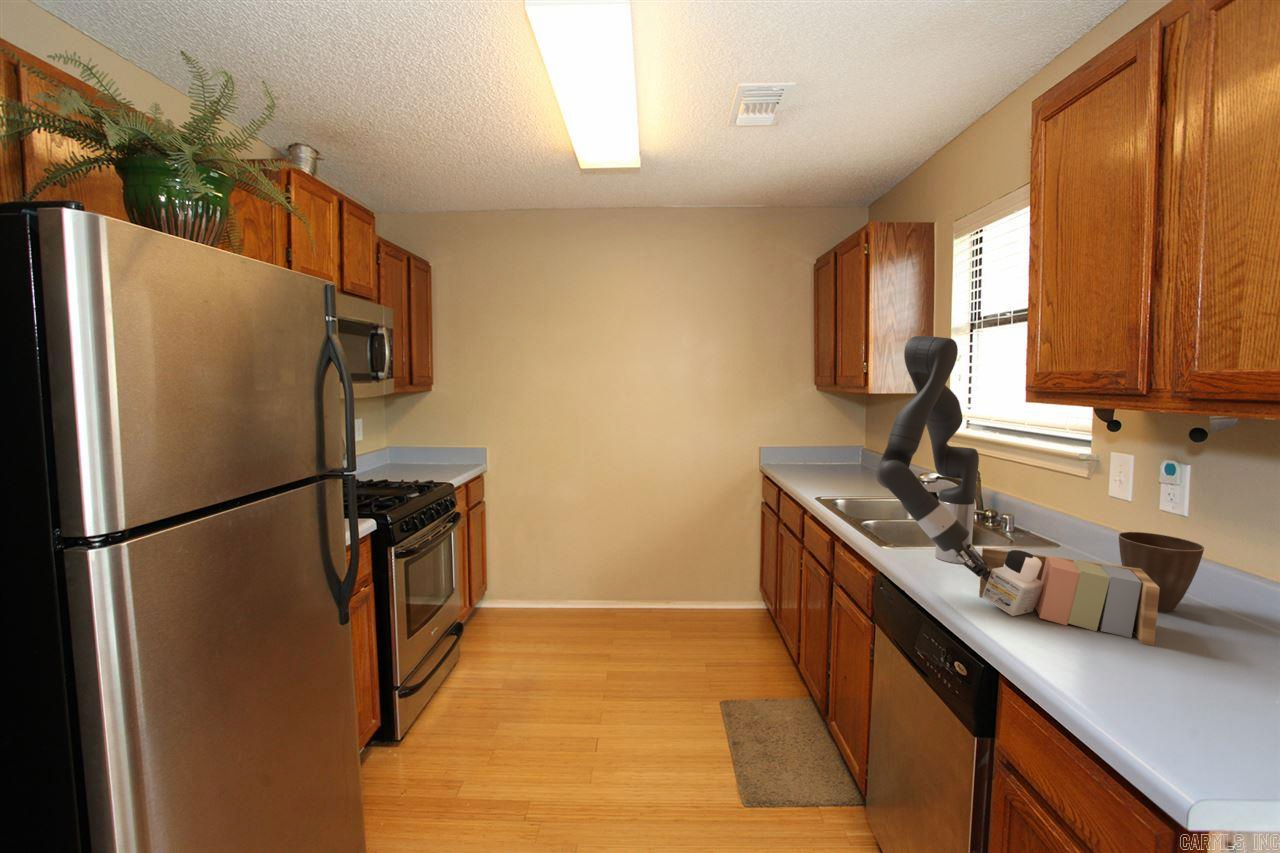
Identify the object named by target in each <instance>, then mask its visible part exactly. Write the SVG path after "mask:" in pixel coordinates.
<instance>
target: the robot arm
mask: <svg viewBox="0 0 1280 853" xmlns="http://www.w3.org/2000/svg"><path fill="white" fill-rule="evenodd" d="M958 350H959V349H958V344H957V342H956V341H955V340H954V339H952V338H949V337H942V336H941V337H940V336H932V335H931V336H929V335H916V336H915V335H914V336H912V337H910V338H909V339H908V340H907V342H906V344H905V346H904V351H903V357H904V363H905V367H906V369H907V373H908V375H909V377H910V379H911V381H912V383H913V386H914V389H915V391H916V395H915V396H914V397H913V398H912V399H911V400H910V401H909V402H908V403H906V404H905V405H904V406H903V408H902V409H901V410H899V412H898V413H897V415H896V417H895V419H894V422H893V424H892V428H891V430H890V433H889V437H888V440H887V445H886V448H885V450H884V452H883V455H882V457H881V458H880V462H879V463H878V467H877V469H876V479H877V482H878V483H879V484H880V485H881V487H883V488H884V489H885V488H886V489H888V490H889V491H890V492H891V493H892V494H893V495H894V496H895V497H896V498H897V499H898V500H899V502H901V505H902V506H903V508H904V510H906V512H907V513H908V514H909V515H910V516H911V517H912V518H913V520H914V521H915V522H916V523H917V524H918V525H919V527H920V528H921V529H922V531H924V533H925V534H926V535H927V536H928V537H929V538H930V539H931V540H932V541H933V542H934V544H935V555H934V556H935V558H937V559H938V560H941V561H943V562H947V563H948V562H949V563H954V564H963V566H964V567H965V568H966V569H968V570H969V571H970V572H972V573H973V574H975V575H976V576H977V577H978V578H980V577H982V578H983V579H984V580H985V581H986V582H988V579H989V576H990V574H991V571H990V568H989V566H987V563H986V562H985V561H984V559H983V557H982V554H980V553H979V552H978V550H977V549H976V547H975V546H974V545H973V530H974V529H973V528H974V516H975V515H974V514H975V499H976V491H977V489H976V488H977V479H978V478H977V477H978V472H979V465H980V464H979V463H980V456H979V451H978V450H977V449H976V448H973V447H963V446H951V445H949V444H948V443H949V441H950V439H951V438H952V437H953V436H955V434H956V433H957V431H958V430H959V429H960V427H961V425H962V424H963V423H962V422H963V419H964V418H963V413H962V408H961V404H960V401H959V398H958V397H957V395H956V394H955V393H954V392H953V391H952V389H950V388H949V387H948V386H947V385H946V384H947V382H948V380H949V378H950V376H951V375H952V374H951V373H952V372H953V369H954V367H955V365H956V362H957V358H958ZM925 427H926V429H927V431H928V432H927V433H928V435H929V439H930V444H931V449H932V458H933V462H934V468H935V470H936V472H937V474H938V475H939V476H941V477H944V478H950V479H958V480H961V483H960V484H958V485H957V486H954V487H948V488H943V489H941V490H940V491H939V493H938V499H936V497H935V496H934V495H933V494H932V493H931V492H930V491H929V490H927V489H926V487H925V486H923V484H922V482H921V481H920V480H919V478H918V477H917V476H916V475H915V473H914V472H913V471H912V470H911V469H910V465H911V463H912V459H913V456H914V455H915V454H916V452H917V450H918V448H919V446H920V443H921V440H922V437H923V434H924V431H925Z"/></svg>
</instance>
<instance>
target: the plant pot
mask: <svg viewBox="0 0 1280 853" xmlns="http://www.w3.org/2000/svg"><path fill="white" fill-rule="evenodd" d="M1118 543H1119V544H1118V546H1119V554H1120V563H1121V566H1125V567H1132V568H1140V569H1142V570H1143V571H1144V572H1145V573H1146V574H1147V575H1148V576H1149V577H1150V579H1151V580H1152V581H1153V582H1154V583H1155V584H1156V585H1157V586H1158V587H1159V588H1160V590H1159V600H1158V611H1157V613H1173V612H1174V611H1175V610H1176V608H1177V607H1178V606H1179V604H1180V602H1181V601H1182V600H1183V598H1184V596H1185V595H1186V593H1187V592H1188V589H1189V588H1190V585H1191V584H1192V582H1193V580H1194V578H1195V576H1196V573H1197V570H1198V568H1199V566H1200V563H1201V560H1202V558H1203V554H1204V551H1205V547H1204V546H1203V544H1200V543H1197V542H1195V541H1191V540H1189V539H1185V538H1180V537H1176V536H1170V535H1167V534H1166V535H1164V534H1157V533H1152V532H1139V531H1125V532H1120V533H1119V534H1118Z"/></svg>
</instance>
